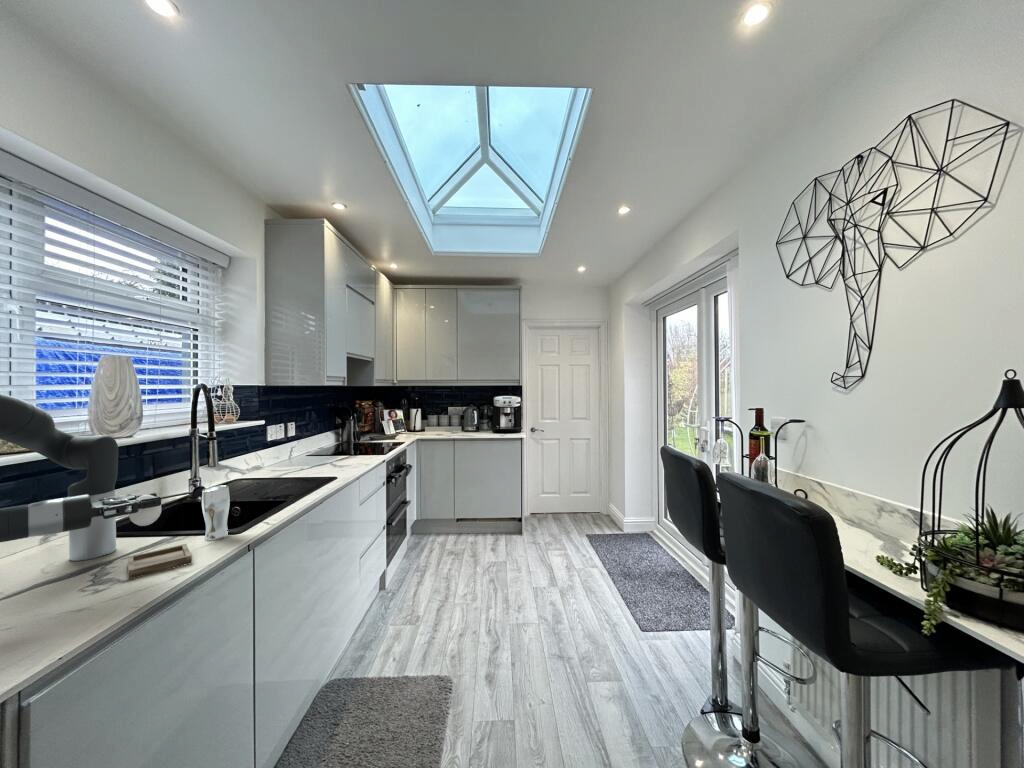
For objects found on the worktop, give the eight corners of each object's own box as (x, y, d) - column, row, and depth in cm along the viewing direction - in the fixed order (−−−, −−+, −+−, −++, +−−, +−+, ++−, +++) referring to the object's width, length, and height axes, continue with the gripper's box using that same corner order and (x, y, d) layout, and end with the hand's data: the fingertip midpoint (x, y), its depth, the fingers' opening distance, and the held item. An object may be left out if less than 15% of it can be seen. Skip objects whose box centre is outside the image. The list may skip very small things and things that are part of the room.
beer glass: (226, 531, 131) (225, 484, 131) (233, 535, 127) (232, 487, 127) (199, 537, 126) (198, 489, 126) (206, 542, 121) (205, 492, 122)
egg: (136, 523, 104) (136, 493, 104) (165, 520, 106) (165, 490, 106) (123, 530, 99) (123, 499, 99) (155, 527, 101) (154, 496, 101)
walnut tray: (128, 564, 108) (127, 556, 108) (186, 550, 116) (186, 543, 116) (128, 579, 99) (128, 570, 99) (191, 563, 107) (191, 555, 107)
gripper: (60, 504, 87) (163, 488, 100) (59, 493, 97) (153, 480, 109) (61, 539, 87) (164, 519, 100) (60, 525, 97) (154, 508, 109)
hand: (158, 498), depth 104 cm, fingers closed on egg, 5 cm apart
